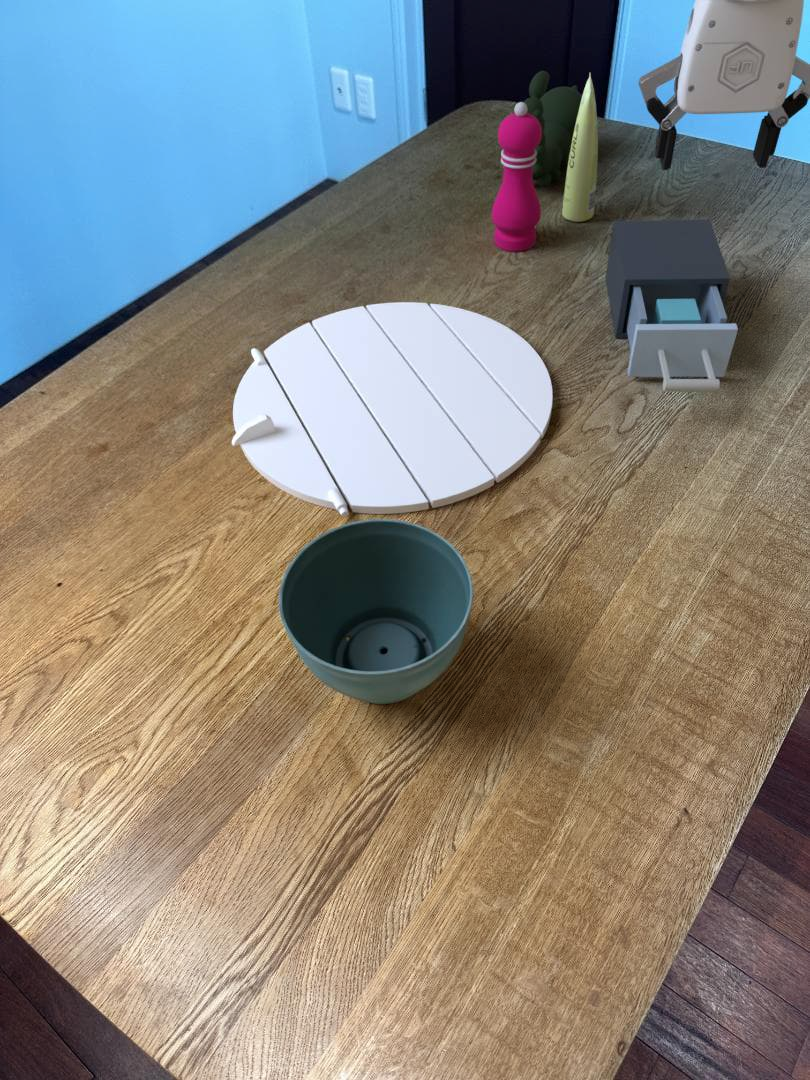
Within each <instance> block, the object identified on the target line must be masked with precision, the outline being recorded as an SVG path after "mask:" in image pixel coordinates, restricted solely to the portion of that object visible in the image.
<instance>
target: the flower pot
mask: <svg viewBox="0 0 810 1080" xmlns="http://www.w3.org/2000/svg"><path fill="white" fill-rule="evenodd" d="M473 601H474V585H473V578H472V576H471V572H470V570H469V567H468V564H467V562H466V561H465V559H464V558H463V556H462V555H461V553H460V552H459V550H458V549H457V548H456V547H455V546H454V545H453V544H452V543H450V541H449V540H447V539H446V538H445V537H443V536H442V535H440V534H439V533H437V532H435V531H434V530H431V529H429V528H427V527H424V526H422V525H420V524H417V523H413V522H410V521H406V520H401V519H400V520H399V519H393V518H372V519H364V520H358V521H353V522H349V523H345V524H341V525H340V526H336V527H334V528H332V529H329V530H327V531H325V532H324V533H322V534H320V535H318V536H317V537H315V538H314V539H312V540H311V541H310V542H309V543H307V544H306V545H305V546H304V547H303V548H302V549H300V550H299V552H298V553H297V554H296V556H295V557H294V558H293V559H292V560H291V561H290V562H289V565H288V566H287V568H286V570H285V572H284V574H283V576H282V580H281V582H280V586H279V590H278V609H279V610H278V611H279V616H280V619H281V622H282V625H283V628H284V629H285V632H286V634H287V636H288V637H289V639H290V641H291V643H292V645H293V646H294V648H295V650H296V652H297V654H298V656H299V657H300V660H302V662H303V663H304V665H305V666H306V668H308V669H309V671H310V672H311V673H312V675H314V676H315V677H316V679H318V680H319V681H321V682H322V683H323V684H325V685H326V687H329V688H330V689H332V690H334V691H335V692H337V693H339V694H341V695H343V696H346V697H348V698H351V699H355V700H360V701H363V702H364V703H365V702H366V703H370V704H374V705H375V704H376V705H388V704H394V703H398V702H401V701H404V700H406V699H409V698H410V697H412V696H414V695H415V694H417V693H419V692H420V691H422V690H424V689H425V688H426V687H429V686H430V685H431V684H432V683H434V682H435V681H436V680H437V679H439V677H440V676H441V675H442V674H443V673H444V672H445V671H446V670H447V668H448V667H449V665H451V663H452V661H453V660H454V658H455V657H456V655H457V653H458V652H459V650H460V648H461V646H462V643H463V641H464V637H465V634H466V631H467V627H468V624H469V623H468V621H469V619H470V616H471V613H472V607H473ZM348 638H349V639H348ZM347 639H348V640H347ZM424 640H425V642H424ZM382 649H386V650H387V651H386V653H382V652H381V651H382Z"/></svg>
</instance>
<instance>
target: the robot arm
mask: <svg viewBox="0 0 810 1080" xmlns="http://www.w3.org/2000/svg"><path fill="white" fill-rule="evenodd" d="M804 5H805V0H694V3H693V6H692V9H691V11H690V16H689V19H688V22H687V25H686V28H685V29H686V30H685V32H684V36H683V40H682V45H681V47H680V52H679V55H678V56H677V57H675V58H673V59H672V60H670V61H667V62H665V63H664V64H662V65H660V66H658V67H657V68H654V69H653V70H651V71H649V72H647V73H646V74H644V75H642V76H640V78H639V79H638V87H639V89H640V92H641V96H642V98H643V101H644V104H645V106H646V110H647V112H648V113H649V114H650V115H651V116H652V118H653V119H654V120H655V122H656V123H657V124H658V125H659V126H658V131H657V137H656V144H655V148H654V149H655V151H654V156H655V159H659V162H660V166H661V169H662V171H669V169H671V168H672V162H673V156H674V152H675V151H674V150H675V145H676V141H677V140H676V139H677V134H678V131H677V128H676V124H678V122H679V121H680V120H681V119H682V118H683V117H684V116H685V115H686V114H690V115H726V114H727V115H728V114H754V113H755V114H756V113H766V112H767V114H766V115H764V117H763V118H762V119H761V121H760V124H759V125H760V126H759V129H758V132H757V137H756V140H755V145H754V149H753V153H752V156H753V159H754V161H755V163H756V165H757V167H758V168H759V169H766V167H767V165H768V163H769V162H768V161H769V158H770V156H771V157H772V156H774V155H775V153H776V149H777V145H778V141H779V138H780V135H781V131H782V128H784V127H786V125H788V123H789V120H790V119H791V118H793V117H794V116H795V115H796V114H797V113H799V112H800V111H801V110H803V108H805V107H806V106H807V104H808V102H809V100H810V63H808V62H807V61H805V60H804V59H802V58H800V57H798V56H797V51H798V45H799V39H800V33H801V28H802V21H803V13H804V7H805V6H804ZM792 76H794V77H795V78H797V79H799V80H801V82H800V84H799V85H798V88H797V89H795V90H794V91H792V92H791V93H790V94H789V95H788V92H789V89H790V84H791V80H792ZM673 79H674V82H673V92H674V94H673V95H672V96H671V97H670V98H669V99H668V100H667V101H666V102H665V103H663V102H662V101H661V99H660V98H659V97H658V95H657V90H658V88H659V87H661V86H663V85H664V84H667V83H668V82H670V81H672V80H673ZM787 95H788V96H787Z"/></svg>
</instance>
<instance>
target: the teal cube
mask: <svg viewBox="0 0 810 1080" xmlns="http://www.w3.org/2000/svg"><path fill="white" fill-rule="evenodd" d="M700 323H701V318H700V314H699V311H698V307H697V304H696V300H695V299H657V302H656V307H655V312H654V317H653V322H652V324H700Z"/></svg>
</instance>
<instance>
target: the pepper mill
mask: <svg viewBox="0 0 810 1080" xmlns="http://www.w3.org/2000/svg"><path fill="white" fill-rule="evenodd" d="M523 102H524V101H519V102H517V103H516V104H515V106H514V109H513V111H514V113H510V114H509V115H508V116H506V117H505V118H504V119H503V120H502V121H501V123H500V124H499V127H498V131H497V142H498V144H499V146H500V148H501V149H502V150H501V152H500V156H501V158H500V163H501V165H503V175H502V182H501V186H500V188H499V191H498V193H497V195H496V197H495V199H494V202H493V205H492V209H491V221H492V223H493V225H494V226H495V229H494V234H493V235H494V237H493V240H494V241H493V242H494V244H495V246H496V247H497V248H498V249H501V250H502V251H506V252H511V253H512V252H515V253H516V252H524V251H527V250H529V249H531V248H532V247H533V246H534V245H535V243H536V241H537V240H536V239H537V229H536V228H535V227H537V225H538V223H539V222H540V220H541V217H542V216H541V213H542V212H541V211H542V210H541V204H540V199H539V197H538V193H537V191H536V188H535V185H534V184H535V183H534V180H533V179H532V169H533V165H534V164H535V163H536V155H537V151H536V149H535V148H536V147H537V146H538V145H539V143H540V141H541V137H542V130H541V125H540V123H539V121H538V119H537V118H536V117H534V116H533V115H531V114H529V113H527V105H526V104H525V103H523Z"/></svg>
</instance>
